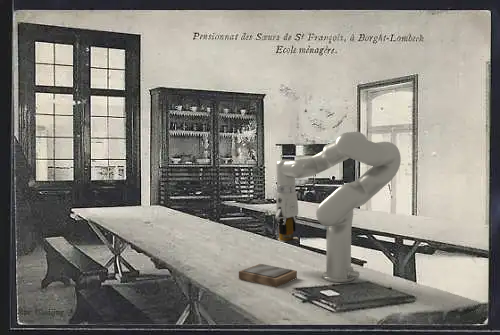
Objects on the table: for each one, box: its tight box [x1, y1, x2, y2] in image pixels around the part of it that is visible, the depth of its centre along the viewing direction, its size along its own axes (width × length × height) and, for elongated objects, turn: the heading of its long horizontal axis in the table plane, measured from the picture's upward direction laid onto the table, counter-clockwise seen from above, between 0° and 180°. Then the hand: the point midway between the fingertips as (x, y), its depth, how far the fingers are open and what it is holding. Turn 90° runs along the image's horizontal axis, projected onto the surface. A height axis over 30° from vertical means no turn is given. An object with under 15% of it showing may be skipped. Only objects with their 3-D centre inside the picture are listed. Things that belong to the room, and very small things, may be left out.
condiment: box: [276, 216, 300, 243], centre depth 232 cm, size 7×8×12 cm
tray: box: [238, 263, 298, 288], centre depth 220 cm, size 18×14×3 cm
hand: (287, 232), depth 232 cm, fingers closed on condiment, 6 cm apart
